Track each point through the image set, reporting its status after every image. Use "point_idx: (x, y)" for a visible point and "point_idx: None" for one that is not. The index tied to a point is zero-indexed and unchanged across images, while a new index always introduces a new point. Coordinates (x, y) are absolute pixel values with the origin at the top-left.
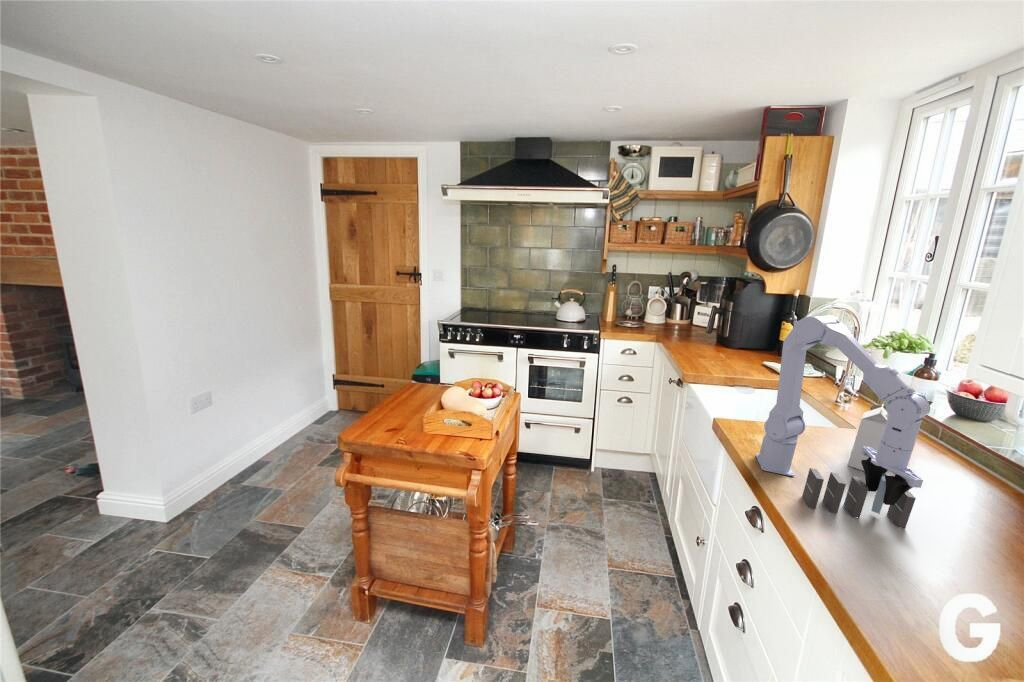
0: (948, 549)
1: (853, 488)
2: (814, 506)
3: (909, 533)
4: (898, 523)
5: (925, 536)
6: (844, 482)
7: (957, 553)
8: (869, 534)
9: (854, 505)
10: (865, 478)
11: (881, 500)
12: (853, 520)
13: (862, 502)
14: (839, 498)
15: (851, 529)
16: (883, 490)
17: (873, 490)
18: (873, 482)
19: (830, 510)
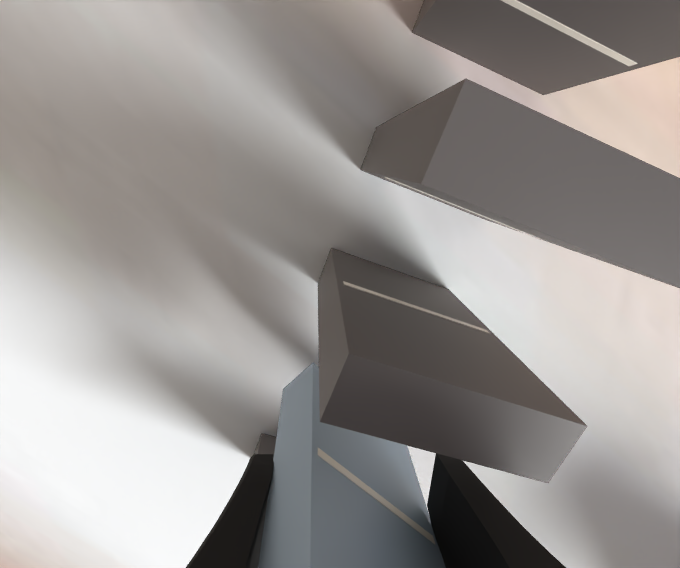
0: (118, 524)
1: (452, 342)
2: (422, 13)
3: (213, 450)
4: (258, 448)
5: (201, 501)
6: (462, 195)
7: (96, 537)
8: (161, 223)
9: (346, 273)
10: (523, 528)
11: (282, 454)
12: (295, 229)
13: (323, 321)
14: (385, 157)
15: (194, 135)
16: (278, 543)
17: (432, 495)
18: (466, 554)
19: (378, 126)
